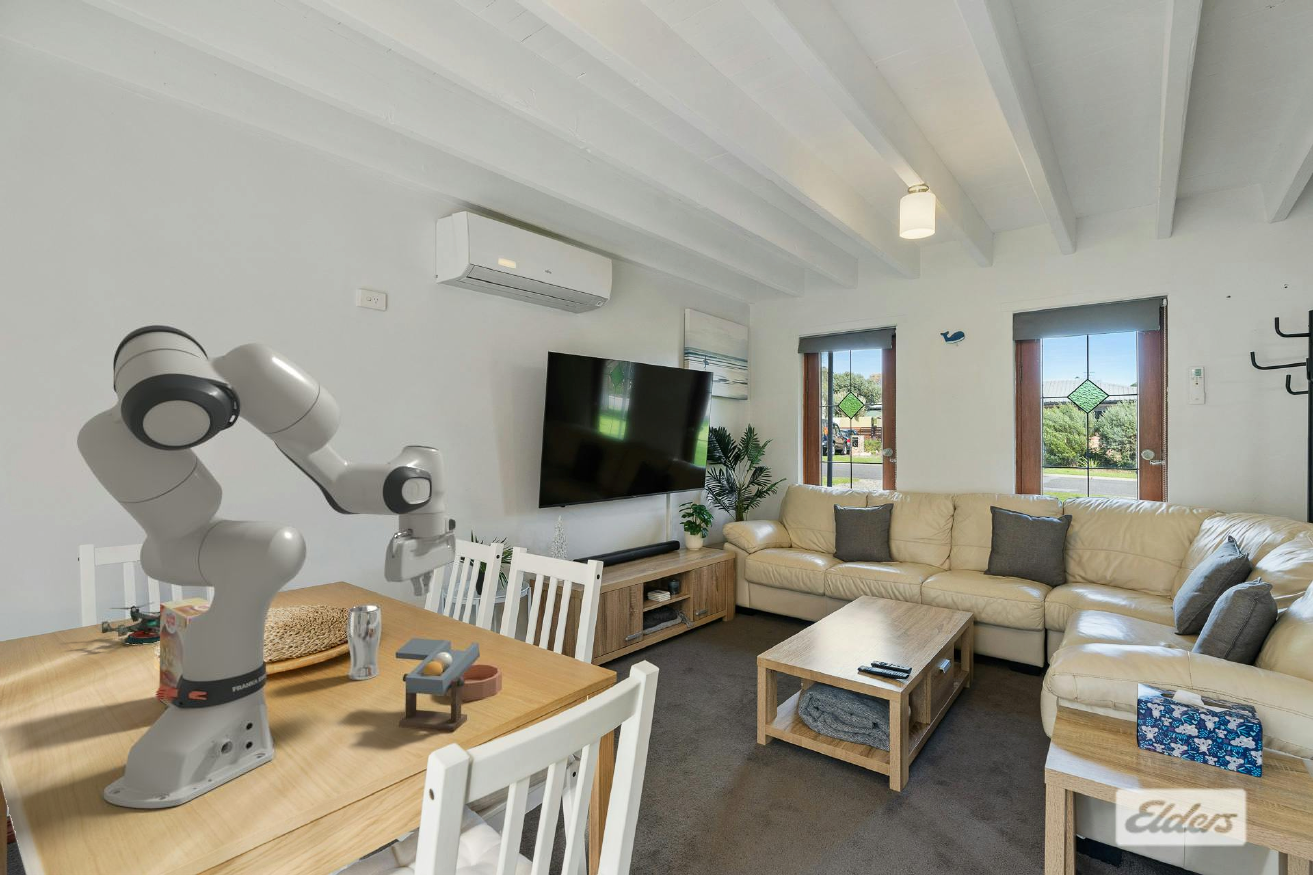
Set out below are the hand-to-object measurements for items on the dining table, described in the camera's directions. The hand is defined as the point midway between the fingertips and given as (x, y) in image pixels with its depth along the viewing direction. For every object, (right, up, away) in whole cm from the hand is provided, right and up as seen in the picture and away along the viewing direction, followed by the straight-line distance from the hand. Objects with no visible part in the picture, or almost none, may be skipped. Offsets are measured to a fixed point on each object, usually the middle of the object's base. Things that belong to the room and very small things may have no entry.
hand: (422, 594), depth 124 cm
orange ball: (+6, -12, -10) cm, 16 cm away
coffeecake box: (-46, -22, -1) cm, 51 cm away
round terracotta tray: (+9, -22, +6) cm, 24 cm away
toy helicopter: (-87, -22, +37) cm, 97 cm away
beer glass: (-18, -22, +14) cm, 32 cm away
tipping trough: (+3, -14, -5) cm, 15 cm away
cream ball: (+6, -11, -6) cm, 14 cm away
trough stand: (+6, -22, -10) cm, 24 cm away
